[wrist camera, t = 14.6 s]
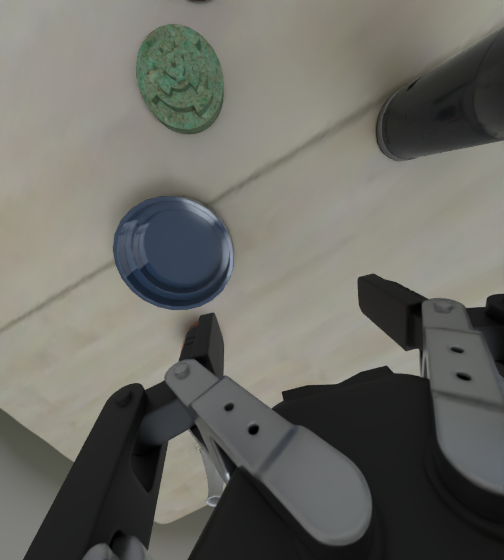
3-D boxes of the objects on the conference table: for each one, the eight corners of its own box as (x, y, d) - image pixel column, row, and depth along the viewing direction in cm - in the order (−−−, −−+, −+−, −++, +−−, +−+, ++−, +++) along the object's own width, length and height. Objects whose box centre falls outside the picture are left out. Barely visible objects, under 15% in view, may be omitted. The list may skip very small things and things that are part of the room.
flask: (214, 432, 51) (211, 484, 42) (239, 444, 54) (241, 497, 44) (195, 450, 53) (187, 505, 44) (219, 462, 55) (217, 517, 46)
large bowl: (217, 184, 34) (215, 183, 29) (243, 283, 40) (245, 295, 35) (110, 210, 34) (91, 212, 29) (151, 306, 40) (141, 321, 35)
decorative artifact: (235, 66, 30) (156, 20, 27) (236, 29, 23) (133, -35, 21) (208, 147, 32) (135, 111, 30) (203, 135, 26) (109, 88, 24)
